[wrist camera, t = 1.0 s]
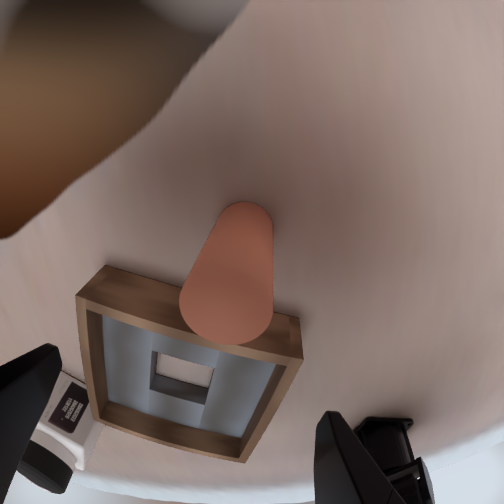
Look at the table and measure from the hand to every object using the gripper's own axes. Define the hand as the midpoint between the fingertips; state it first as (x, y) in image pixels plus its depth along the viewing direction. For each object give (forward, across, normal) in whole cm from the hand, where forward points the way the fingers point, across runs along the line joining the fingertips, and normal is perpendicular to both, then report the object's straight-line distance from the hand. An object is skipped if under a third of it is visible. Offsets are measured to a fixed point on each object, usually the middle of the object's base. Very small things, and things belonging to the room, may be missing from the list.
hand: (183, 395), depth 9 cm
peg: (+13, -1, -1) cm, 13 cm away
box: (+13, +2, +12) cm, 18 cm away
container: (+13, +15, +23) cm, 30 cm away
